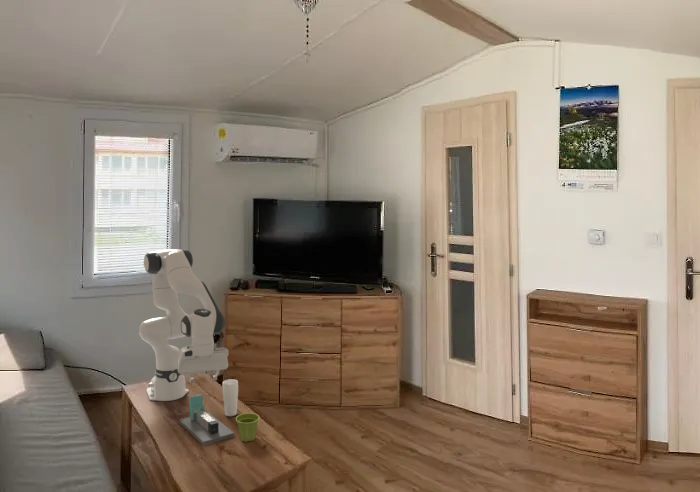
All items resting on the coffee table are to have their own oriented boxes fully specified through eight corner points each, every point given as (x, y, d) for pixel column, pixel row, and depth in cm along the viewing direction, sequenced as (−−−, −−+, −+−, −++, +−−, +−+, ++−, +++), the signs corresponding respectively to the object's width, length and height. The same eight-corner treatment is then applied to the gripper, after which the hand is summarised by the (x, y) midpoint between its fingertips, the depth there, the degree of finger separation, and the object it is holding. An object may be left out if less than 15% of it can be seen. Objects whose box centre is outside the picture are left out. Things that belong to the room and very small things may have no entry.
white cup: (234, 418, 237) (234, 384, 235) (220, 416, 238) (219, 383, 237) (241, 412, 243) (240, 379, 242) (226, 410, 245) (226, 378, 243)
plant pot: (264, 436, 220) (264, 415, 219) (250, 445, 211) (250, 424, 210) (245, 431, 223) (244, 411, 222) (231, 441, 215) (230, 420, 214)
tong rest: (179, 422, 231) (178, 412, 231) (208, 415, 239) (207, 405, 239) (203, 445, 211) (203, 434, 211) (234, 436, 219) (234, 425, 218)
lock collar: (189, 418, 232) (189, 396, 231) (202, 415, 235) (201, 393, 234) (192, 420, 229) (192, 398, 228) (204, 417, 233) (204, 395, 232)
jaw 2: (199, 419, 231) (199, 410, 230) (202, 419, 231) (202, 409, 231) (215, 433, 218) (214, 423, 218) (218, 432, 219) (218, 422, 218)
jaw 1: (195, 420, 230) (195, 411, 229) (199, 419, 231) (199, 410, 230) (211, 434, 217) (211, 424, 217) (215, 433, 218) (214, 423, 218)
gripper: (227, 344, 230) (227, 376, 231) (176, 348, 223) (177, 381, 224) (229, 348, 224) (229, 381, 226) (177, 353, 217) (178, 386, 218)
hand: (203, 381), depth 225 cm, fingers open, 8 cm apart
